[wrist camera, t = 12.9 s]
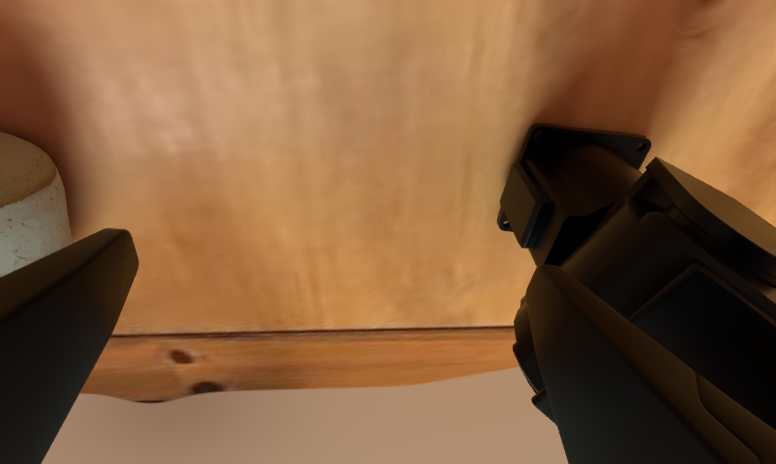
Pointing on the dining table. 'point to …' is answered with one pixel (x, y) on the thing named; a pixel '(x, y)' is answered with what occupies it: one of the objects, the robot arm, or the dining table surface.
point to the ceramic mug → (29, 205)
